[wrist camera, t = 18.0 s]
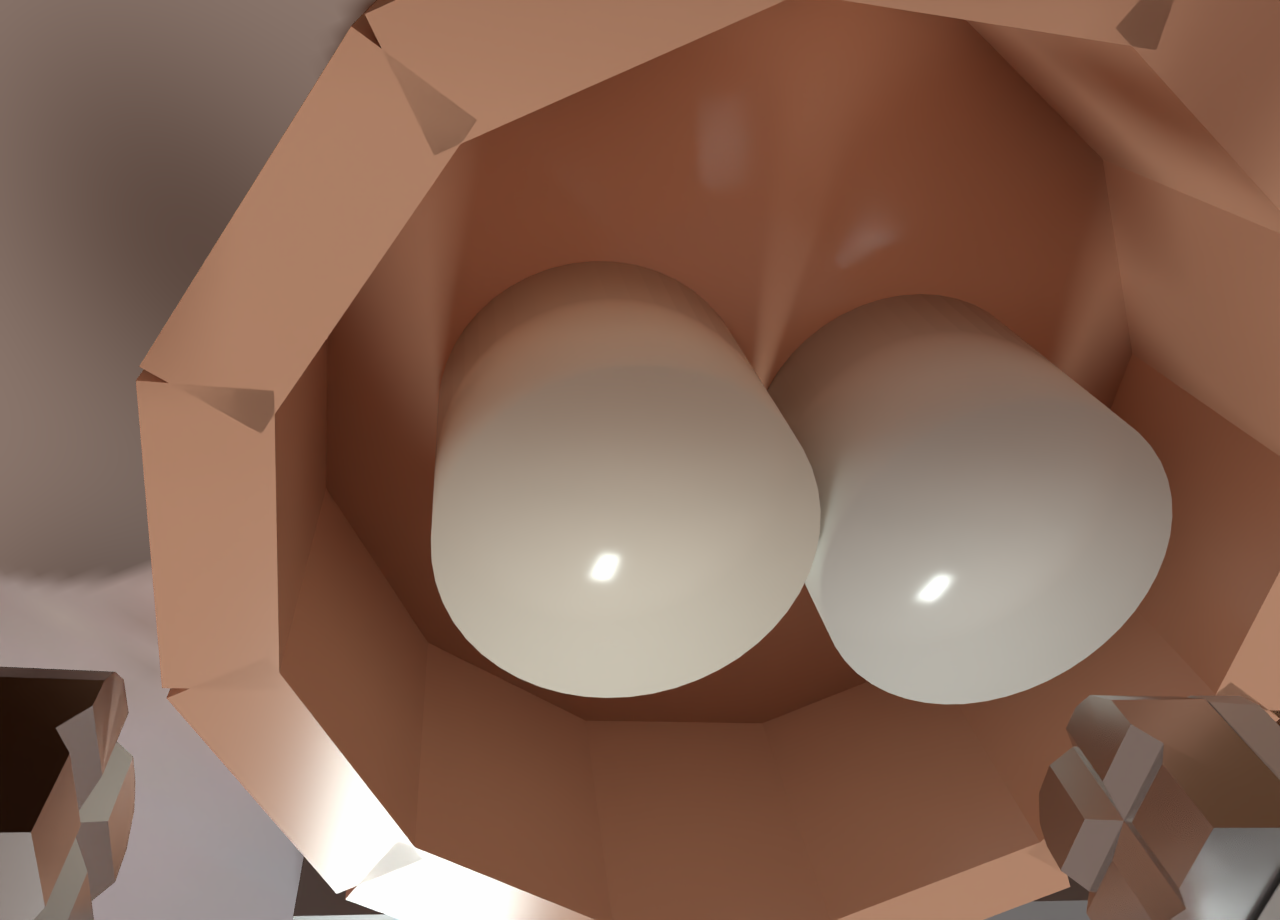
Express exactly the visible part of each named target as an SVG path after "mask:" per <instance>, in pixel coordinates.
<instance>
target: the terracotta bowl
mask: <svg viewBox="0 0 1280 920" xmlns="http://www.w3.org/2000/svg"><path fill="white" fill-rule="evenodd" d="M590 261H608V262H621V263H627V264H633V265H638V266H642V267H645V268H648V269H652V270H655V271H658V272H660V273H662V274H665V275H667V276H669V277H671V278H674V279H676V280H677V281H679V282H681V283H682V284H684V285H685V286H687V287H689V288H690V289H692V290H693V291H694V292H696V293H697V294H698V295H699V296H700V297H701V298H703V299H704V300H705V301H706V302H707V303H708V304H709V305H710V306H711V307H712V308H713V309H714V310H715V311H716V313H717V314H718V315H719V316H720V317H721V318H722V320H723V321H724V323H725V324H726V326H727V327H728V329H729V330H730V332H731V334H732V335H733V337H734V338H735V340H736V342H737V343H738V345H739V346H740V348H741V350H742V351H743V353H744V354H745V356H746V358H747V359H748V361H749V362H750V364H751V366H752V367H753V369H754V370H755V372H756V374H757V375H758V377H759V379H760V380H761V382H762V383H763V385H764V387H765V388H766V390H768V388H769V386H770V384H771V382H772V381H773V379H774V378H775V376H776V374H777V373H778V371H779V370H780V368H781V367H782V366H783V364H784V363H785V362H786V361H787V359H788V358H789V357H790V356H791V354H792V353H793V352H794V351H795V350H796V349H797V348H798V347H799V346H800V345H801V344H802V343H803V342H804V341H805V340H806V339H808V338H809V337H810V336H811V335H813V334H814V333H815V332H816V331H818V330H819V329H820V328H822V327H823V326H824V325H826V324H828V323H829V322H831V321H832V320H834V319H836V318H837V317H839V316H841V315H842V314H845V313H847V312H849V311H851V310H853V309H855V308H857V307H860V306H862V305H865V304H868V303H871V302H874V301H877V300H881V299H885V298H890V297H895V296H901V295H914V294H927V295H941V296H946V297H951V298H956V299H959V300H962V301H965V302H968V303H971V304H973V305H975V306H977V307H979V308H981V309H983V310H985V311H987V312H988V313H990V314H991V315H993V316H994V317H995V318H997V319H998V320H999V321H1000V322H1002V323H1003V324H1004V325H1006V326H1007V327H1008V328H1009V329H1011V330H1012V331H1013V332H1014V333H1015V334H1017V335H1018V336H1019V337H1020V338H1022V339H1023V340H1024V341H1025V342H1027V343H1028V344H1029V345H1030V346H1032V347H1033V348H1034V349H1035V350H1037V351H1038V352H1039V353H1040V354H1042V355H1043V356H1044V357H1045V358H1047V359H1048V360H1049V361H1050V362H1052V363H1053V364H1054V365H1055V366H1057V367H1058V368H1059V369H1060V370H1061V371H1063V372H1064V373H1065V374H1066V375H1068V376H1069V377H1070V378H1071V379H1073V380H1074V381H1075V382H1076V383H1078V384H1079V385H1080V386H1081V387H1083V388H1084V389H1085V390H1086V391H1088V392H1089V393H1090V394H1091V395H1093V396H1094V397H1095V398H1096V399H1098V400H1099V401H1100V402H1101V403H1103V404H1104V405H1105V406H1106V407H1107V408H1109V409H1110V410H1111V411H1112V412H1114V413H1115V414H1116V415H1117V416H1119V417H1120V418H1121V419H1122V420H1124V421H1125V422H1126V423H1127V424H1129V425H1130V426H1131V427H1132V428H1134V429H1135V430H1136V431H1137V432H1139V434H1140V435H1141V436H1142V437H1143V438H1144V439H1145V440H1146V441H1147V442H1148V443H1149V444H1150V446H1151V447H1152V448H1153V450H1154V452H1155V453H1156V455H1157V456H1158V458H1159V460H1160V461H1161V463H1162V466H1163V468H1164V471H1165V473H1166V476H1167V478H1168V482H1169V487H1170V492H1171V497H1172V524H1171V533H1170V538H1169V542H1168V546H1167V550H1166V554H1165V557H1164V559H1163V562H1162V564H1161V567H1160V569H1159V572H1158V574H1157V576H1156V578H1155V580H1154V582H1153V584H1152V585H1151V587H1150V589H1149V591H1148V593H1147V594H1146V596H1145V597H1144V599H1143V600H1142V602H1141V603H1140V604H1139V606H1138V607H1137V609H1136V610H1135V612H1134V613H1133V614H1132V615H1131V616H1130V617H1129V619H1128V620H1127V621H1126V622H1125V623H1124V624H1123V626H1122V627H1121V628H1120V629H1119V630H1118V631H1117V632H1116V633H1115V634H1114V635H1113V636H1112V637H1111V638H1109V639H1108V640H1107V641H1106V642H1105V643H1104V644H1103V645H1102V646H1101V647H1099V648H1098V649H1097V650H1096V651H1094V652H1093V653H1092V654H1091V655H1089V656H1088V657H1087V658H1085V659H1084V660H1082V661H1081V662H1079V663H1078V664H1076V665H1075V666H1073V667H1072V668H1070V669H1069V670H1067V671H1065V672H1063V673H1062V674H1060V675H1058V676H1056V677H1054V678H1052V679H1050V680H1049V681H1047V682H1044V683H1042V684H1040V685H1037V686H1035V687H1033V688H1030V689H1028V690H1025V691H1022V692H1019V693H1016V694H1013V695H1010V696H1007V697H1002V698H998V699H994V700H989V701H984V702H976V703H968V704H934V703H924V702H919V701H914V700H910V699H905V698H902V697H899V696H897V695H894V694H891V693H888V692H886V691H884V690H882V689H880V688H878V687H876V686H875V685H873V684H871V683H870V682H868V681H867V680H866V679H864V678H863V677H861V676H860V675H859V674H857V673H856V672H855V671H854V670H853V669H852V668H851V667H850V665H849V664H848V663H847V662H846V661H845V660H844V659H843V657H842V656H841V654H840V653H839V651H838V650H837V649H836V647H835V645H834V643H833V641H832V639H831V637H830V635H829V633H828V631H827V629H826V627H825V625H824V623H823V620H822V618H821V616H820V614H819V612H818V610H817V608H816V606H815V604H814V602H813V600H812V598H811V596H810V594H809V591H808V589H807V587H806V585H805V583H804V585H803V587H802V589H801V591H800V593H799V595H798V596H797V598H796V599H795V601H794V602H793V604H792V605H791V607H790V608H789V610H788V611H787V613H786V614H785V615H784V616H783V617H782V619H781V620H780V621H779V622H778V623H777V625H776V626H775V627H774V628H773V629H772V630H771V631H770V632H769V633H768V634H767V635H766V636H765V637H764V638H763V639H762V640H761V641H760V642H758V643H757V644H756V645H755V646H754V647H752V648H751V649H750V650H748V651H747V652H746V653H744V654H743V655H742V656H741V657H739V658H738V659H736V660H734V661H733V662H731V663H729V664H728V665H726V666H725V667H723V668H721V669H720V670H718V671H716V672H713V673H711V674H709V675H707V676H705V677H703V678H701V679H699V680H696V681H694V682H691V683H688V684H685V685H682V686H680V687H677V688H673V689H669V690H665V691H661V692H657V693H653V694H646V695H640V696H633V697H617V698H599V697H583V696H577V695H571V694H565V693H560V692H556V691H553V690H549V689H546V688H542V687H539V686H536V685H534V684H532V683H529V682H527V681H524V680H522V679H519V678H517V677H516V676H514V675H512V674H510V673H508V672H507V671H505V670H503V669H501V668H500V667H498V666H497V665H495V664H494V663H493V662H491V661H490V660H489V659H487V658H486V657H485V656H483V655H482V654H481V653H480V652H479V651H478V650H477V649H476V648H475V647H474V646H473V645H472V644H471V643H470V642H469V641H468V640H467V639H466V638H465V637H464V635H463V634H462V633H461V631H460V630H459V629H458V627H457V626H456V625H455V624H454V622H453V621H452V619H451V617H450V615H449V613H448V611H447V610H446V608H445V606H444V604H443V602H442V599H441V596H440V593H439V591H438V588H437V585H436V582H435V577H434V571H433V566H432V557H431V529H432V510H433V491H434V472H435V453H436V434H437V414H438V399H439V391H440V384H441V380H442V376H443V373H444V369H445V365H446V363H447V360H448V358H449V356H450V354H451V351H452V349H453V347H454V345H455V343H456V342H457V340H458V339H459V337H460V335H461V334H462V332H463V331H464V329H465V328H466V326H467V325H468V324H469V323H470V322H471V320H472V319H473V318H474V317H475V316H476V314H477V313H478V312H479V311H480V310H481V309H482V308H484V307H485V306H486V305H487V304H488V303H489V302H490V301H491V300H492V299H493V298H495V297H496V296H498V295H499V294H500V293H502V292H503V291H505V290H506V289H508V288H509V287H510V286H512V285H514V284H516V283H518V282H520V281H522V280H524V279H525V278H527V277H529V276H531V275H534V274H537V273H540V272H542V271H545V270H548V269H550V268H554V267H559V266H563V265H567V264H572V263H581V262H590ZM140 367H141V368H142V369H144V370H143V371H142V373H141V374H140V376H139V377H138V378H137V380H136V388H137V399H138V410H139V423H140V434H141V446H142V458H143V470H144V481H145V492H146V505H147V517H148V528H149V540H150V552H151V564H152V575H153V587H154V599H155V611H156V622H157V634H158V646H159V658H160V669H161V681H162V688H170V691H169V694H168V696H167V699H168V700H169V701H170V703H171V704H172V705H173V706H174V707H175V708H176V710H177V711H178V712H179V713H180V714H181V715H182V716H183V718H184V719H185V720H186V721H187V722H188V723H189V724H190V726H191V727H192V728H193V729H194V730H195V731H196V733H197V734H198V735H199V736H200V737H201V738H202V739H203V741H204V742H205V743H206V744H207V745H208V746H209V748H210V749H211V750H212V751H213V752H214V753H215V754H216V756H217V757H218V758H219V759H220V760H221V761H222V762H223V764H224V765H225V766H226V767H227V768H228V769H229V771H230V772H231V773H232V774H233V775H234V776H235V777H236V779H237V780H238V781H239V782H240V783H241V784H242V785H243V787H244V788H245V789H246V790H247V791H248V792H249V794H250V795H251V796H252V797H253V798H254V799H255V800H256V802H257V803H258V804H259V805H260V806H261V807H262V809H263V810H264V811H265V812H266V813H267V814H268V815H269V817H270V818H271V819H272V820H273V821H274V822H275V823H276V825H277V826H278V827H279V828H280V829H281V830H282V832H283V833H284V834H285V835H286V836H287V837H288V838H289V840H290V841H291V842H292V843H293V844H294V845H295V846H296V848H297V849H298V850H299V851H300V852H301V853H302V855H303V856H304V857H305V858H306V859H307V860H308V861H309V863H310V864H311V865H312V866H313V867H314V868H315V869H316V871H317V872H318V873H319V874H320V875H321V876H322V878H323V879H324V880H325V881H326V882H327V883H328V884H329V886H330V887H331V888H332V889H333V890H334V891H335V893H336V894H337V893H340V892H342V891H345V890H346V896H345V899H346V900H348V901H351V902H354V903H356V904H359V905H362V906H365V907H367V908H370V909H373V910H376V911H378V912H381V913H384V914H386V915H389V916H392V917H395V918H397V919H400V920H984V919H987V918H989V917H992V916H994V915H997V914H1000V913H1002V912H1005V911H1008V910H1010V909H1013V908H1016V907H1018V906H1021V905H1024V904H1026V903H1029V902H1032V901H1034V900H1037V899H1040V898H1042V897H1045V896H1048V895H1050V894H1053V893H1055V892H1058V891H1061V890H1063V889H1066V888H1069V887H1070V884H1069V880H1068V876H1067V875H1066V874H1065V873H1064V872H1062V871H1061V870H1060V868H1059V867H1058V865H1057V863H1056V861H1055V860H1054V858H1053V856H1052V854H1051V853H1050V851H1049V849H1048V847H1047V845H1046V842H1045V839H1044V835H1043V832H1042V829H1041V826H1040V818H1039V792H1040V789H1041V786H1042V784H1043V781H1044V778H1045V776H1046V773H1047V771H1048V768H1049V765H1050V764H1052V763H1053V762H1054V761H1056V760H1057V759H1058V758H1059V757H1061V756H1062V755H1063V754H1064V753H1066V752H1067V751H1068V750H1069V749H1071V748H1072V747H1073V746H1072V743H1071V741H1070V738H1069V735H1068V733H1067V730H1066V727H1067V725H1068V723H1069V721H1070V718H1071V716H1072V714H1073V712H1074V710H1075V708H1076V706H1078V705H1079V704H1080V703H1081V702H1082V701H1083V700H1085V699H1086V698H1087V697H1088V696H1089V695H1114V696H1176V697H1188V696H1242V697H1244V698H1246V699H1248V700H1250V701H1252V702H1254V703H1256V704H1258V705H1260V706H1261V707H1262V708H1263V709H1264V710H1265V711H1266V712H1267V713H1268V714H1269V715H1270V717H1271V718H1272V719H1273V720H1274V721H1275V722H1277V721H1278V720H1279V719H1280V718H1279V717H1278V716H1277V715H1276V714H1275V713H1274V712H1273V711H1272V710H1279V711H1280V0H376V1H375V2H374V3H373V4H372V5H371V6H370V7H369V8H368V9H367V10H366V12H365V13H364V14H363V15H362V16H361V17H360V18H359V19H358V20H357V21H356V22H355V23H354V24H353V25H352V26H351V27H350V29H349V30H348V32H347V34H346V35H345V37H344V38H343V40H342V42H341V43H340V45H339V46H338V48H337V50H336V51H335V53H334V54H333V56H332V58H331V59H330V61H329V62H328V64H327V66H326V67H325V69H324V71H323V72H322V74H321V75H320V77H319V79H318V80H317V82H316V84H315V85H314V87H313V88H312V90H311V91H310V93H309V95H308V96H307V98H306V99H305V101H304V103H303V104H302V106H301V108H300V109H299V111H298V112H297V114H296V116H295V117H294V119H293V120H292V122H291V124H290V125H289V127H288V128H287V130H286V132H285V133H284V135H283V136H282V138H281V140H280V141H279V143H278V144H277V146H276V148H275V149H274V151H273V152H272V154H271V156H270V157H269V159H268V160H267V162H266V164H265V165H264V167H263V169H262V170H261V172H260V173H259V175H258V177H257V178H256V180H255V181H254V183H253V185H252V186H251V188H250V189H249V191H248V193H247V194H246V196H245V197H244V199H243V201H242V202H241V204H240V206H239V207H238V209H237V210H236V212H235V213H234V215H233V217H232V218H231V220H230V222H229V223H228V225H227V227H226V228H225V230H224V231H223V233H222V235H221V236H220V238H219V239H218V241H217V242H216V244H215V246H214V247H213V249H212V250H211V252H210V254H209V255H208V257H207V258H206V260H205V262H204V263H203V265H202V267H201V268H200V270H199V271H198V273H197V275H196V276H195V278H194V279H193V281H192V283H191V284H190V286H189V287H188V289H187V291H186V292H185V294H184V295H183V297H182V299H181V300H180V302H179V303H178V305H177V307H176V308H175V310H174V312H173V313H172V315H171V316H170V318H169V320H168V321H167V323H166V325H165V326H164V328H163V329H162V331H161V333H160V334H159V336H158V337H157V339H156V340H155V342H154V344H153V345H152V347H151V348H150V350H149V352H148V353H147V355H146V356H145V358H144V360H143V361H142V363H141V365H140Z"/></svg>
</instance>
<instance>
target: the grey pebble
mask: <svg viewBox="0 0 1280 920" xmlns="http://www.w3.org/2000/svg"><path fill="white" fill-rule="evenodd" d="M767 391H768V393H769V395H770V396H771V398H772V399H773V401H774V403H775V404H776V406H777V407H778V409H779V411H780V412H781V414H782V416H783V417H784V419H785V420H786V422H787V424H788V425H789V427H790V428H791V430H792V432H793V433H794V435H795V436H796V438H797V440H798V441H799V443H800V444H801V446H802V448H803V450H804V452H805V454H806V456H807V458H808V460H809V463H810V465H811V467H812V469H813V473H814V476H815V480H816V484H817V487H818V493H819V501H820V509H821V513H820V534H819V539H818V545H817V550H816V554H815V557H814V560H813V563H812V566H811V570H810V573H809V575H808V577H807V579H806V581H805V585H806V587H807V589H808V591H809V594H810V596H811V598H812V600H813V602H814V604H815V606H816V608H817V610H818V612H819V614H820V616H821V618H822V620H823V623H824V625H825V627H826V629H827V631H828V633H829V635H830V637H831V639H832V641H833V643H834V645H835V647H836V649H837V650H838V651H839V653H840V654H841V656H842V657H843V659H844V660H845V661H846V662H847V663H848V664H849V665H850V667H851V668H852V669H853V670H854V671H855V672H856V673H857V674H859V675H860V676H861V677H863V678H864V679H866V680H867V681H868V682H870V683H871V684H873V685H875V686H876V687H878V688H880V689H882V690H884V691H886V692H888V693H891V694H894V695H897V696H899V697H902V698H905V699H910V700H914V701H919V702H924V703H934V704H968V703H976V702H984V701H989V700H994V699H998V698H1002V697H1007V696H1010V695H1013V694H1016V693H1019V692H1022V691H1025V690H1028V689H1030V688H1033V687H1035V686H1037V685H1040V684H1042V683H1044V682H1047V681H1049V680H1050V679H1052V678H1054V677H1056V676H1058V675H1060V674H1062V673H1063V672H1065V671H1067V670H1069V669H1070V668H1072V667H1073V666H1075V665H1076V664H1078V663H1079V662H1081V661H1082V660H1084V659H1085V658H1087V657H1088V656H1089V655H1091V654H1092V653H1093V652H1094V651H1096V650H1097V649H1098V648H1099V647H1101V646H1102V645H1103V644H1104V643H1105V642H1106V641H1107V640H1108V639H1109V638H1111V637H1112V636H1113V635H1114V634H1115V633H1116V632H1117V631H1118V630H1119V629H1120V628H1121V627H1122V626H1123V624H1124V623H1125V622H1126V621H1127V620H1128V619H1129V617H1130V616H1131V615H1132V614H1133V613H1134V612H1135V610H1136V609H1137V607H1138V606H1139V604H1140V603H1141V602H1142V600H1143V599H1144V597H1145V596H1146V594H1147V593H1148V591H1149V589H1150V587H1151V585H1152V584H1153V582H1154V580H1155V578H1156V576H1157V574H1158V572H1159V569H1160V567H1161V564H1162V562H1163V559H1164V557H1165V554H1166V550H1167V546H1168V542H1169V538H1170V533H1171V524H1172V497H1171V492H1170V487H1169V482H1168V478H1167V476H1166V473H1165V471H1164V468H1163V466H1162V463H1161V461H1160V460H1159V458H1158V456H1157V455H1156V453H1155V452H1154V450H1153V448H1152V447H1151V446H1150V444H1149V443H1148V442H1147V441H1146V440H1145V439H1144V438H1143V437H1142V436H1141V435H1140V434H1139V432H1137V431H1136V430H1135V429H1134V428H1132V427H1131V426H1130V425H1129V424H1127V423H1126V422H1125V421H1124V420H1122V419H1121V418H1120V417H1119V416H1117V415H1116V414H1115V413H1114V412H1112V411H1111V410H1110V409H1109V408H1107V407H1106V406H1105V405H1104V404H1103V403H1101V402H1100V401H1099V400H1098V399H1096V398H1095V397H1094V396H1093V395H1091V394H1090V393H1089V392H1088V391H1086V390H1085V389H1084V388H1083V387H1081V386H1080V385H1079V384H1078V383H1076V382H1075V381H1074V380H1073V379H1071V378H1070V377H1069V376H1068V375H1066V374H1065V373H1064V372H1063V371H1061V370H1060V369H1059V368H1058V367H1057V366H1055V365H1054V364H1053V363H1052V362H1050V361H1049V360H1048V359H1047V358H1045V357H1044V356H1043V355H1042V354H1040V353H1039V352H1038V351H1037V350H1035V349H1034V348H1033V347H1032V346H1030V345H1029V344H1028V343H1027V342H1025V341H1024V340H1023V339H1022V338H1020V337H1019V336H1018V335H1017V334H1015V333H1014V332H1013V331H1012V330H1011V329H1009V328H1008V327H1007V326H1006V325H1004V324H1003V323H1002V322H1000V321H999V320H998V319H997V318H995V317H994V316H993V315H991V314H990V313H988V312H987V311H985V310H983V309H981V308H979V307H977V306H975V305H973V304H971V303H968V302H965V301H962V300H959V299H956V298H951V297H946V296H941V295H927V294H914V295H901V296H895V297H890V298H885V299H881V300H877V301H874V302H871V303H868V304H865V305H862V306H860V307H857V308H855V309H853V310H851V311H849V312H847V313H845V314H842V315H841V316H839V317H837V318H836V319H834V320H832V321H831V322H829V323H828V324H826V325H824V326H823V327H822V328H820V329H819V330H818V331H816V332H815V333H814V334H813V335H811V336H810V337H809V338H808V339H806V340H805V341H804V342H803V343H802V344H801V345H800V346H799V347H798V348H797V349H796V350H795V351H794V352H793V353H792V354H791V356H790V357H789V358H788V359H787V361H786V362H785V363H784V364H783V366H782V367H781V368H780V370H779V371H778V373H777V374H776V376H775V378H774V379H773V381H772V382H771V384H770V386H769V388H768V390H767Z"/></svg>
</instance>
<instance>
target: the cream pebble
mask: <svg viewBox="0 0 1280 920" xmlns="http://www.w3.org/2000/svg"><path fill="white" fill-rule="evenodd" d="M820 513H821V509H820V501H819V493H818V487H817V484H816V480H815V476H814V473H813V469H812V467H811V465H810V463H809V460H808V458H807V456H806V454H805V452H804V450H803V448H802V446H801V444H800V443H799V441H798V440H797V438H796V436H795V435H794V433H793V432H792V430H791V428H790V427H789V425H788V424H787V422H786V420H785V419H784V417H783V416H782V414H781V412H780V411H779V409H778V407H777V406H776V404H775V403H774V401H773V399H772V398H771V396H770V395H769V393H768V391H767V390H766V388H765V387H764V385H763V383H762V382H761V380H760V379H759V377H758V375H757V374H756V372H755V370H754V369H753V367H752V366H751V364H750V362H749V361H748V359H747V358H746V356H745V354H744V353H743V351H742V350H741V348H740V346H739V345H738V343H737V342H736V340H735V338H734V337H733V335H732V334H731V332H730V330H729V329H728V327H727V326H726V324H725V323H724V321H723V320H722V318H721V317H720V316H719V315H718V314H717V313H716V311H715V310H714V309H713V308H712V307H711V306H710V305H709V304H708V303H707V302H706V301H705V300H704V299H703V298H701V297H700V296H699V295H698V294H697V293H696V292H694V291H693V290H692V289H690V288H689V287H687V286H685V285H684V284H682V283H681V282H679V281H677V280H676V279H674V278H671V277H669V276H667V275H665V274H662V273H660V272H658V271H655V270H652V269H648V268H645V267H642V266H638V265H633V264H627V263H621V262H608V261H590V262H581V263H572V264H567V265H563V266H559V267H554V268H550V269H548V270H545V271H542V272H540V273H537V274H534V275H531V276H529V277H527V278H525V279H524V280H522V281H520V282H518V283H516V284H514V285H512V286H510V287H509V288H508V289H506V290H505V291H503V292H502V293H500V294H499V295H498V296H496V297H495V298H493V299H492V300H491V301H490V302H489V303H488V304H487V305H486V306H485V307H484V308H482V309H481V310H480V311H479V312H478V313H477V314H476V316H475V317H474V318H473V319H472V320H471V322H470V323H469V324H468V325H467V326H466V328H465V329H464V331H463V332H462V334H461V335H460V337H459V339H458V340H457V342H456V343H455V345H454V347H453V349H452V351H451V354H450V356H449V358H448V360H447V363H446V365H445V369H444V373H443V376H442V380H441V384H440V391H439V399H438V414H437V434H436V453H435V472H434V491H433V510H432V529H431V557H432V566H433V571H434V577H435V582H436V585H437V588H438V591H439V593H440V596H441V599H442V602H443V604H444V606H445V608H446V610H447V611H448V613H449V615H450V617H451V619H452V621H453V622H454V624H455V625H456V626H457V627H458V629H459V630H460V631H461V633H462V634H463V635H464V637H465V638H466V639H467V640H468V641H469V642H470V643H471V644H472V645H473V646H474V647H475V648H476V649H477V650H478V651H479V652H480V653H481V654H482V655H483V656H485V657H486V658H487V659H489V660H490V661H491V662H493V663H494V664H495V665H497V666H498V667H500V668H501V669H503V670H505V671H507V672H508V673H510V674H512V675H514V676H516V677H517V678H519V679H522V680H524V681H527V682H529V683H532V684H534V685H536V686H539V687H542V688H546V689H549V690H553V691H556V692H560V693H565V694H571V695H577V696H583V697H599V698H617V697H633V696H640V695H646V694H653V693H657V692H661V691H665V690H669V689H673V688H677V687H680V686H682V685H685V684H688V683H691V682H694V681H696V680H699V679H701V678H703V677H705V676H707V675H709V674H711V673H713V672H716V671H718V670H720V669H721V668H723V667H725V666H726V665H728V664H729V663H731V662H733V661H734V660H736V659H738V658H739V657H741V656H742V655H743V654H744V653H746V652H747V651H748V650H750V649H751V648H752V647H754V646H755V645H756V644H757V643H758V642H760V641H761V640H762V639H763V638H764V637H765V636H766V635H767V634H768V633H769V632H770V631H771V630H772V629H773V628H774V627H775V626H776V625H777V623H778V622H779V621H780V620H781V619H782V617H783V616H784V615H785V614H786V613H787V611H788V610H789V608H790V607H791V605H792V604H793V602H794V601H795V599H796V598H797V596H798V595H799V593H800V591H801V589H802V587H803V585H804V583H805V581H806V579H807V577H808V575H809V573H810V570H811V566H812V563H813V560H814V557H815V554H816V550H817V545H818V539H819V534H820Z"/></svg>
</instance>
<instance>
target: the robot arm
mask: <svg viewBox="0 0 1280 920" xmlns="http://www.w3.org/2000/svg"><path fill="white" fill-rule="evenodd" d="M127 715H128V706H127V699H126V693H125V686H124V679H123V678H121V677H120V676H119V675H118V674H117V673H116V672H108V671H86V670H63V669H41V668H19V667H0V920H94V917H93V910H92V902H91V901H92V900H93V899H95V898H96V897H97V896H98V895H100V894H101V893H102V892H103V891H104V890H106V889H107V888H108V887H109V886H111V885H112V884H113V883H114V882H115V881H116V878H117V875H118V872H119V869H120V866H121V863H122V860H123V858H124V855H125V852H126V849H127V844H128V839H129V834H130V829H131V824H132V818H133V813H134V800H135V772H134V761H133V756H132V755H131V754H130V753H128V752H127V751H126V750H125V749H124V748H123V747H122V746H121V745H120V744H119V743H118V742H117V739H118V737H119V734H120V732H121V730H122V727H123V725H124V722H125V720H126V718H127ZM1066 730H1067V733H1068V735H1069V738H1070V741H1071V743H1072V746H1073V747H1072V748H1071V749H1069V750H1068V751H1067V752H1066V753H1064V754H1063V755H1062V756H1061V757H1059V758H1058V759H1057V760H1056V761H1054V762H1053V763H1052V764H1050V765H1049V768H1048V771H1047V773H1046V776H1045V778H1044V781H1043V784H1042V786H1041V789H1040V792H1039V818H1040V826H1041V829H1042V832H1043V835H1044V839H1045V842H1046V845H1047V847H1048V849H1049V851H1050V853H1051V854H1052V856H1053V858H1054V860H1055V861H1056V863H1057V865H1058V867H1059V868H1060V870H1061V871H1062V872H1064V873H1065V874H1066V875H1068V876H1069V877H1070V878H1072V879H1073V880H1074V881H1076V882H1077V883H1078V884H1080V885H1081V886H1083V887H1084V888H1085V889H1087V890H1088V891H1089V896H1088V904H1087V912H1086V913H1087V915H1088V917H1089V918H1090V920H1280V726H1279V725H1278V724H1277V723H1276V722H1275V721H1274V720H1273V719H1272V718H1271V717H1270V715H1269V714H1268V713H1267V712H1266V711H1265V710H1264V709H1263V708H1262V707H1261V706H1260V705H1258V704H1256V703H1254V702H1252V701H1250V700H1248V699H1246V698H1244V697H1242V696H1188V697H1176V696H1114V695H1089V696H1088V697H1087V698H1086V699H1085V700H1083V701H1082V702H1081V703H1080V704H1079V705H1078V706H1076V708H1075V710H1074V712H1073V714H1072V716H1071V718H1070V721H1069V723H1068V725H1067V727H1066Z"/></svg>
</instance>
